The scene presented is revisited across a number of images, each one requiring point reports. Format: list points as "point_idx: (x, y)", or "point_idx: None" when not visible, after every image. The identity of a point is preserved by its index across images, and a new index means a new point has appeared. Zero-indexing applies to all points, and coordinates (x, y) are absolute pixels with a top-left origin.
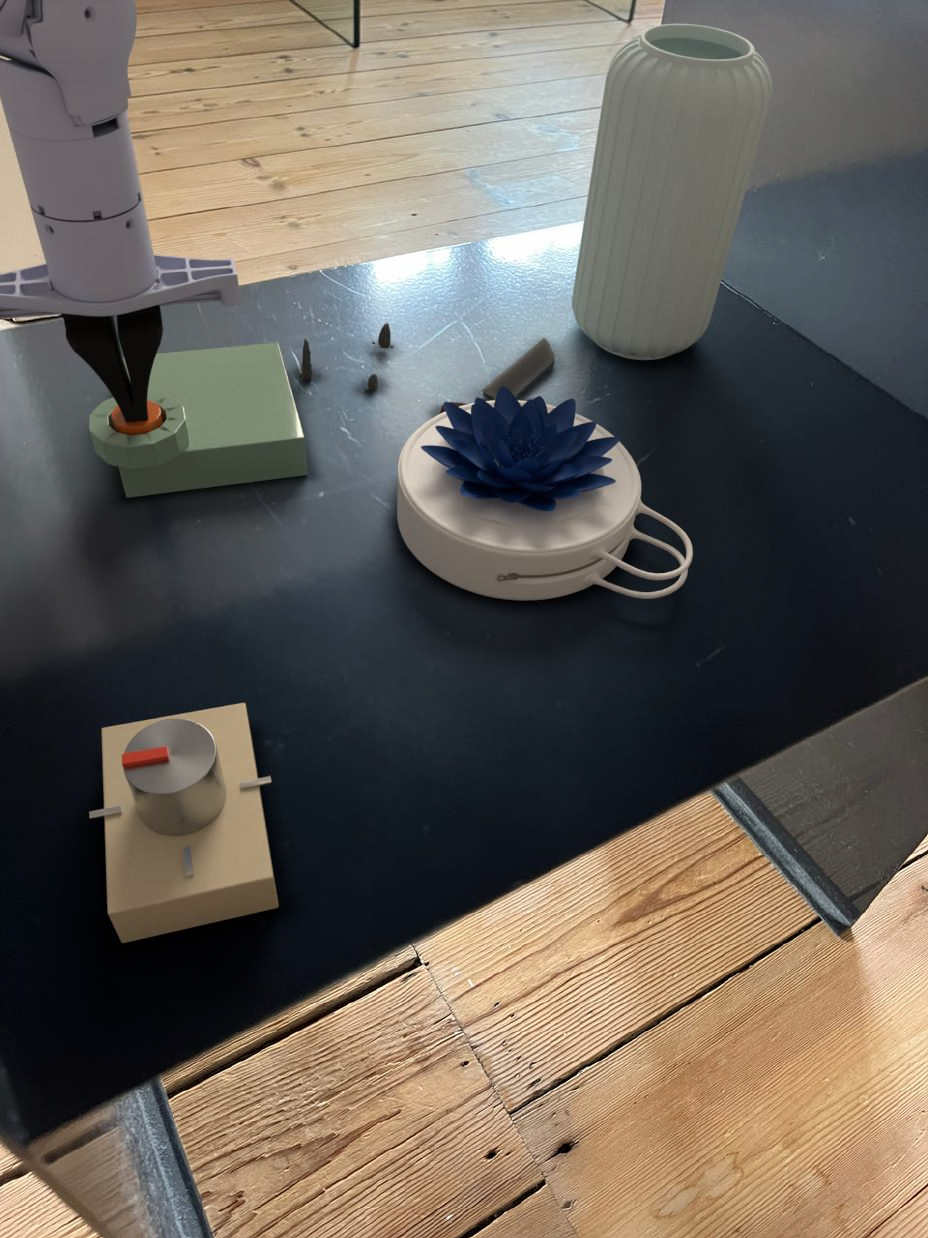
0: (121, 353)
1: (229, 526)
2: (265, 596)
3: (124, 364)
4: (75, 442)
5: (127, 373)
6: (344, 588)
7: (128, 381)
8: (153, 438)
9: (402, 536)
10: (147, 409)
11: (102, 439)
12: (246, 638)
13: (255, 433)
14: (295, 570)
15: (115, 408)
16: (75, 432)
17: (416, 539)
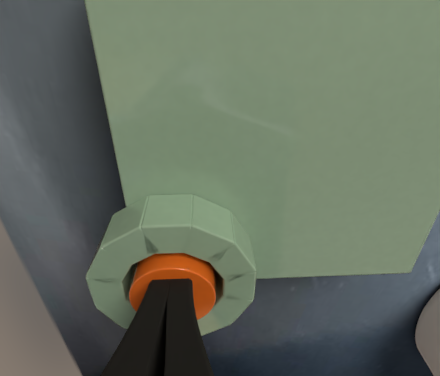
0: (147, 371)
1: (264, 283)
2: (276, 346)
3: (154, 351)
4: (51, 105)
5: (159, 330)
6: (340, 346)
7: (163, 343)
8: (200, 329)
9: (419, 320)
10: (193, 299)
11: (121, 326)
12: (253, 370)
13: (348, 259)
14: (309, 329)
15: (134, 288)
16: (42, 75)
17: (428, 359)
